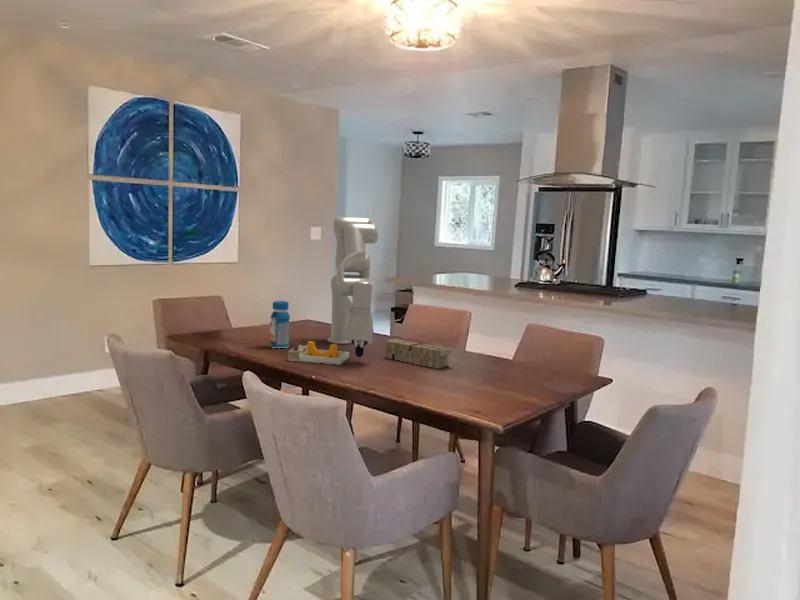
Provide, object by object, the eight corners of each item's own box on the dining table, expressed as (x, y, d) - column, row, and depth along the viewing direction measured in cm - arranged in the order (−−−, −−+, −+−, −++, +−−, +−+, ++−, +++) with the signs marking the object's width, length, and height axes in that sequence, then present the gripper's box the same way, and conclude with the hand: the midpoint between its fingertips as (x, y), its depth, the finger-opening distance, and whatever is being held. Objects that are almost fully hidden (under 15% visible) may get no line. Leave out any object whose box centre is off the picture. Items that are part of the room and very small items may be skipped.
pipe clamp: (338, 359, 257) (339, 343, 257) (334, 361, 253) (334, 345, 253) (311, 356, 261) (312, 340, 260) (307, 357, 257) (307, 342, 256)
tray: (309, 354, 266) (309, 348, 266) (349, 358, 263) (349, 352, 263) (298, 361, 252) (298, 355, 252) (340, 365, 250) (340, 358, 249)
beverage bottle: (283, 350, 273) (284, 303, 271) (266, 347, 276) (267, 302, 274) (292, 346, 281) (294, 301, 279) (275, 344, 284) (276, 300, 281)
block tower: (383, 360, 268) (440, 370, 250) (383, 340, 267) (440, 349, 249) (395, 357, 274) (451, 367, 256) (395, 338, 273) (452, 346, 255)
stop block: (301, 353, 268) (302, 336, 268) (310, 354, 268) (311, 337, 267) (288, 360, 253) (288, 343, 252) (297, 361, 252) (298, 344, 251)
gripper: (340, 311, 252) (338, 356, 254) (377, 314, 249) (375, 360, 252) (345, 308, 259) (343, 352, 262) (381, 311, 256) (379, 356, 259)
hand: (359, 356), depth 257 cm, fingers closed
